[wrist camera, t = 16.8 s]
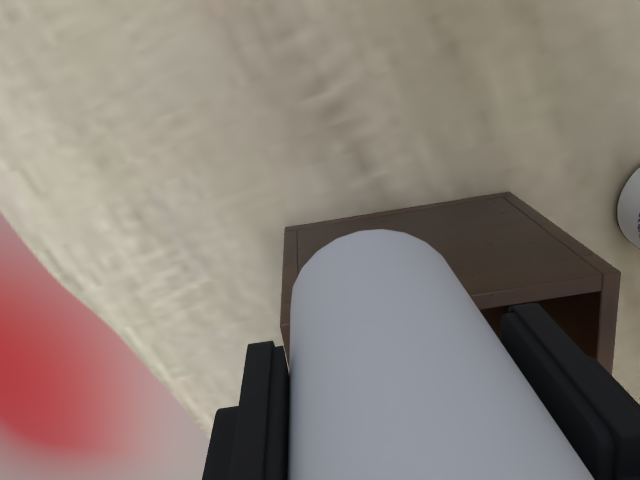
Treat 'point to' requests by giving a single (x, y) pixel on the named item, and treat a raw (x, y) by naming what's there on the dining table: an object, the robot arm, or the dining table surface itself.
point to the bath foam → (630, 209)
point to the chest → (489, 263)
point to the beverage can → (407, 375)
